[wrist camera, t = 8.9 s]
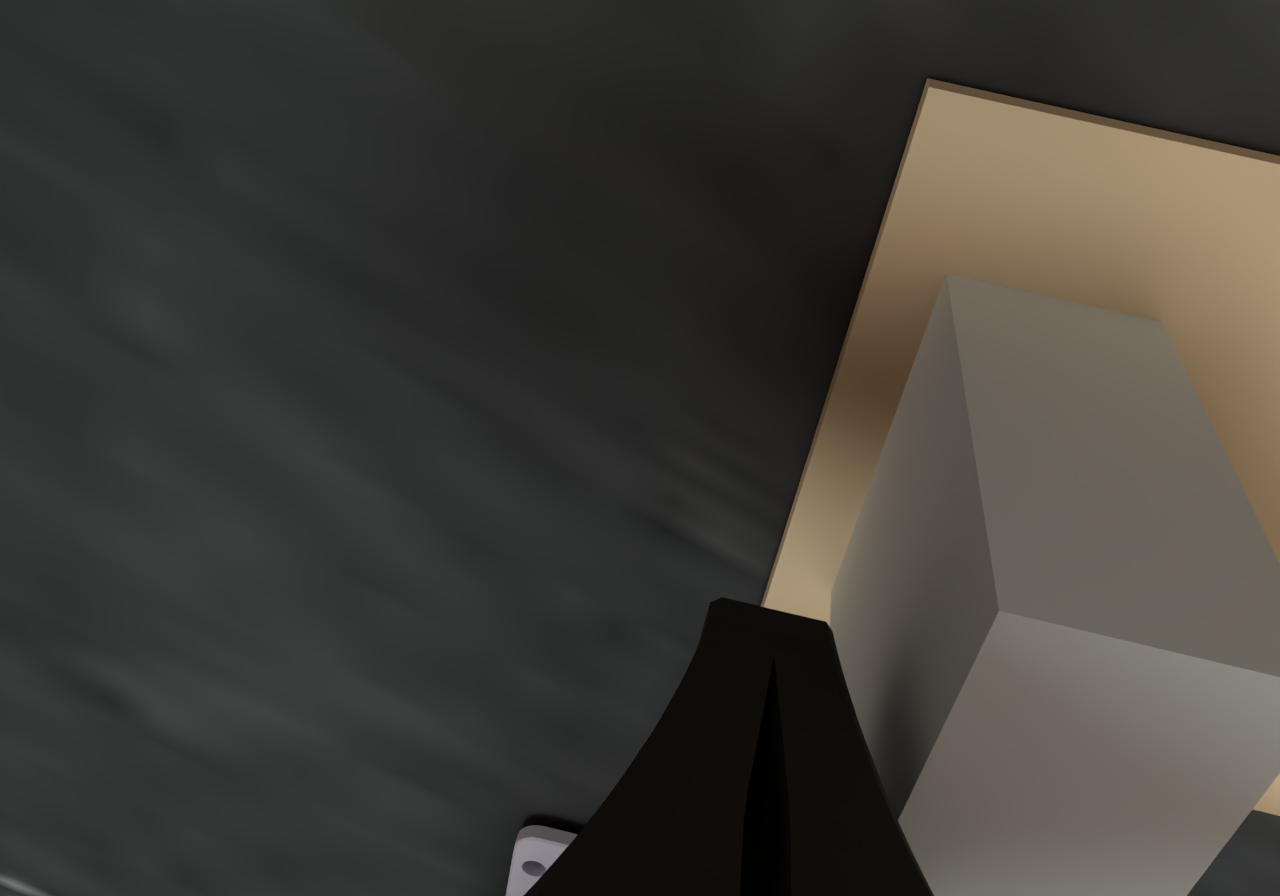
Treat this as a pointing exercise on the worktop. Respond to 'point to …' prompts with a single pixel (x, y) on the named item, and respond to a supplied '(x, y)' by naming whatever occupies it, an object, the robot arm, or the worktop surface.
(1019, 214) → the board
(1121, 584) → the slab
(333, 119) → the worktop surface
